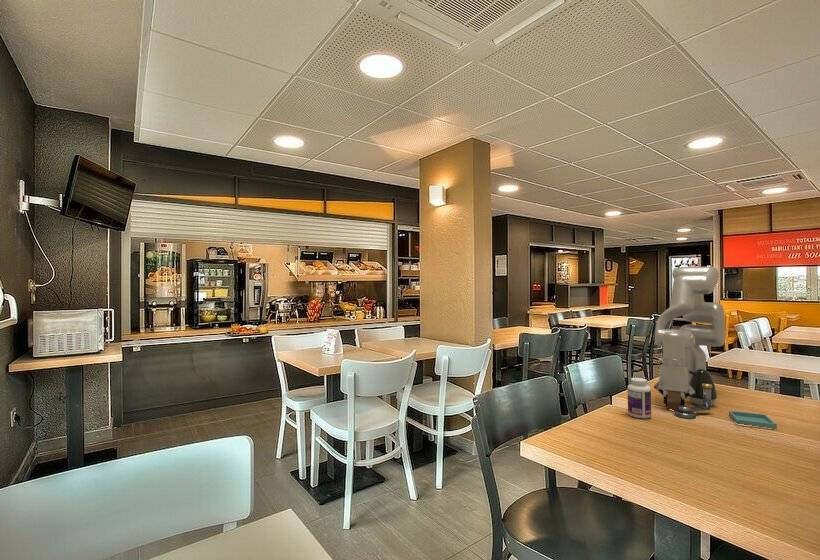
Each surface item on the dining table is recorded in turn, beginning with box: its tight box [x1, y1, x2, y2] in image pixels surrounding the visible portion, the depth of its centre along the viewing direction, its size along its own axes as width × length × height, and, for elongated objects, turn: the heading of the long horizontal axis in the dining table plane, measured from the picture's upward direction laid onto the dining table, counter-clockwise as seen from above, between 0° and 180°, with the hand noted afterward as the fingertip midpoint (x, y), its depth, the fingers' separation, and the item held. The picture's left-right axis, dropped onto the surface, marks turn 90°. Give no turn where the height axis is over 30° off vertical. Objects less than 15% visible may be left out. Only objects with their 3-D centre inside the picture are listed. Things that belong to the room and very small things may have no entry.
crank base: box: [673, 409, 697, 420], centre depth 160 cm, size 7×7×2 cm
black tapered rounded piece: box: [688, 369, 718, 406], centre depth 174 cm, size 10×10×15 cm
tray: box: [728, 410, 778, 429], centre depth 152 cm, size 11×11×2 cm
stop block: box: [666, 390, 681, 410], centre depth 167 cm, size 4×4×8 cm
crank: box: [679, 383, 712, 413], centre depth 161 cm, size 15×4×10 cm, turn 104°
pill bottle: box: [627, 377, 652, 419], centre depth 160 cm, size 8×8×14 cm
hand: (674, 406), depth 167 cm, fingers closed on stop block, 4 cm apart
